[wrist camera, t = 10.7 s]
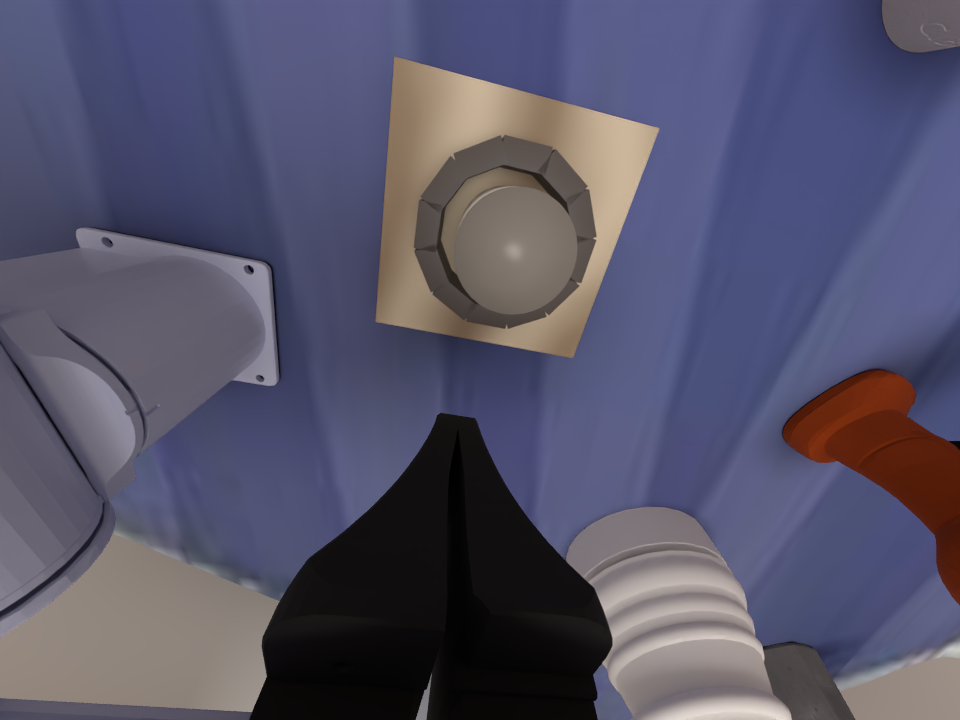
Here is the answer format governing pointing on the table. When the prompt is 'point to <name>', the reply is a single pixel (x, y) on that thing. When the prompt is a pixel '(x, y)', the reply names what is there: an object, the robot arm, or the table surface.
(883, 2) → the dixie cup
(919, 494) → the toy drill
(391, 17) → the table surface
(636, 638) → the honey pot
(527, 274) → the grey cylinder
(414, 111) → the square plate with ring
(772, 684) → the coffeepot
